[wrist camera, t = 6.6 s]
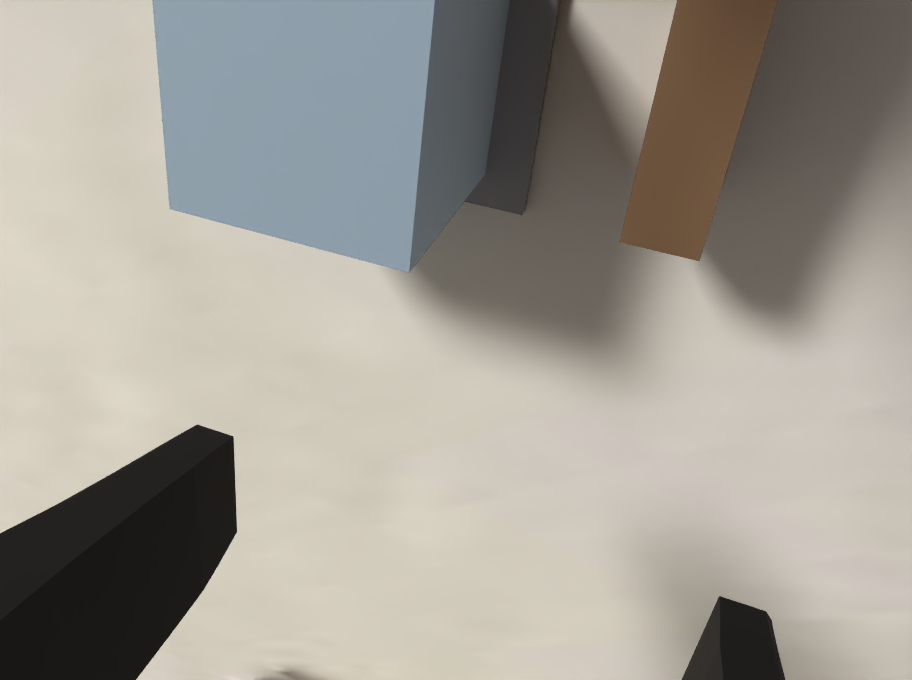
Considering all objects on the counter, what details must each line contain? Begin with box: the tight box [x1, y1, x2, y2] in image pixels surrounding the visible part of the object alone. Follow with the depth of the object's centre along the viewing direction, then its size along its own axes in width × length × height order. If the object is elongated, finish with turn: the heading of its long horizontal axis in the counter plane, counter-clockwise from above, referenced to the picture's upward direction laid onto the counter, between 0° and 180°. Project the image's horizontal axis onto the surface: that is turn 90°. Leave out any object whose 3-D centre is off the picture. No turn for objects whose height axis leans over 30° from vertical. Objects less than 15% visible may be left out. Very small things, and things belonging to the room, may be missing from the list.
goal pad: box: [465, 0, 560, 215], centre depth 19 cm, size 7×7×1 cm
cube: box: [152, 0, 510, 273], centre depth 17 cm, size 5×5×5 cm
